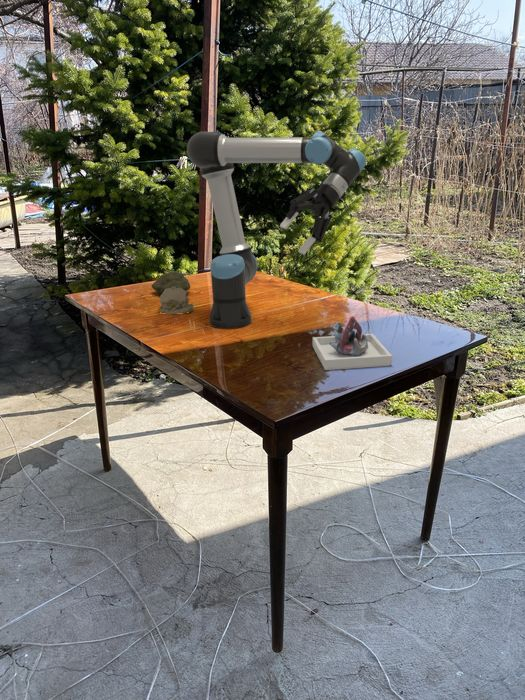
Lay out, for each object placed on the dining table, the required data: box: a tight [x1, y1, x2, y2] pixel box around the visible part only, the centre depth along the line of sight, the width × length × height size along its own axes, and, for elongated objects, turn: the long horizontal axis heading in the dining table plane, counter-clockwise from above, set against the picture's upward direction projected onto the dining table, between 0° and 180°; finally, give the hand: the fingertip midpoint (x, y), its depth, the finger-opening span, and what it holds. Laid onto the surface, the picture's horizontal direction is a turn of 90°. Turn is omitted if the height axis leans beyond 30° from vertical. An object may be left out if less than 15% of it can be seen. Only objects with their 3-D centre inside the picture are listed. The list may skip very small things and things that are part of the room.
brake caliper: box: [329, 315, 368, 356], centre depth 156 cm, size 11×11×12 cm
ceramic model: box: [158, 286, 195, 314], centre depth 204 cm, size 14×11×10 cm
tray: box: [312, 333, 393, 371], centre depth 156 cm, size 19×19×3 cm
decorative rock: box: [151, 270, 191, 294], centre depth 229 cm, size 15×16×10 cm
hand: (292, 240), depth 172 cm, fingers open, 13 cm apart
